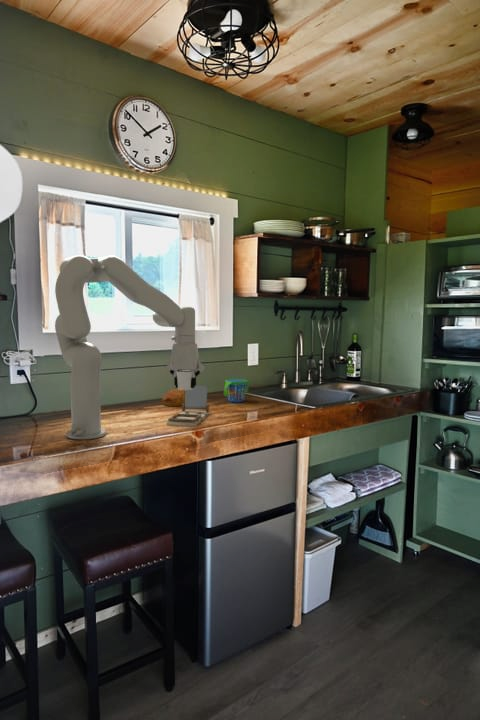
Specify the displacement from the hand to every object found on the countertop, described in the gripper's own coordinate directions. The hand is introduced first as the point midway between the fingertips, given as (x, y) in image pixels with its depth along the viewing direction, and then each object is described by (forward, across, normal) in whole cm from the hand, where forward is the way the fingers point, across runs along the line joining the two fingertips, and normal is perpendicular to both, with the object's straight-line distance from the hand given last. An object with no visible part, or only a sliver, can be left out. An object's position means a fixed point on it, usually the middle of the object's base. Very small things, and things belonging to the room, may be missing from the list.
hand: (185, 386), depth 189 cm
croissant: (+14, -14, +35) cm, 40 cm away
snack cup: (+14, +11, +48) cm, 51 cm away
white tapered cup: (+1, 0, 0) cm, 1 cm away
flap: (+7, 0, +15) cm, 17 cm away
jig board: (+14, 0, +6) cm, 15 cm away
